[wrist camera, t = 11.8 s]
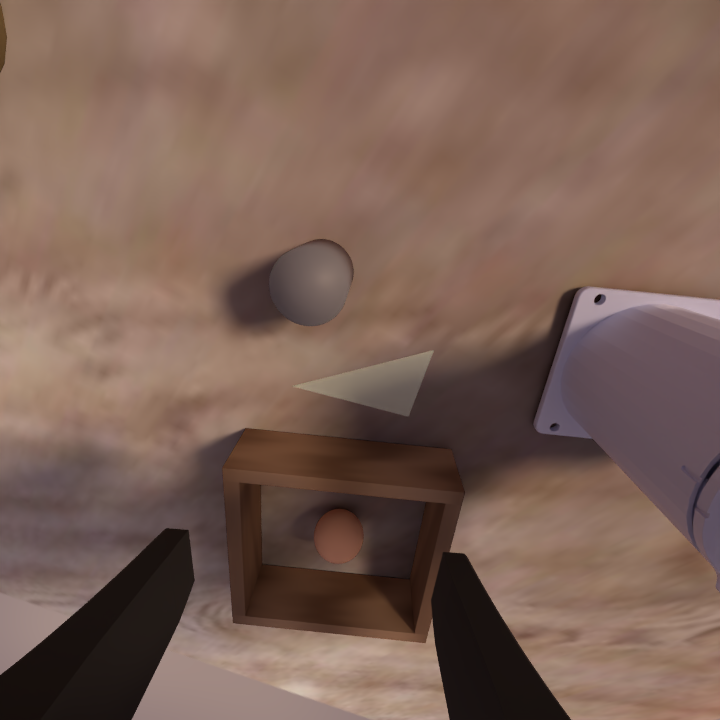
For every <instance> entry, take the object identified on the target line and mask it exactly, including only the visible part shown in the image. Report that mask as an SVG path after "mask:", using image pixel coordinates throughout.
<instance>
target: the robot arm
mask: <svg viewBox="0 0 720 720" xmlns="http://www.w3.org/2000/svg"><path fill="white" fill-rule="evenodd" d="M599 294H601V299H600V300H599V301H598V302H597V303H594V299H595V297H596V296H597V295H599ZM553 423H556V425H555V426H554V427H550V426H551V425H552V424H553ZM533 425H534V428H535V429H536V430H537V431H538V432H539V433H542V434H551V435H560V436H570V437H580V438H590V439H593V440H594V441H595V442H596V443H597V444H598V445H599V446H600V447H601V448H602V449H603V450H604V451H605V452H606V453H607V454H608V456H609V457H610V458H611V459H612V460H613V461H614V462H615V463H616V464H617V465H618V466H619V467H620V468H621V469H622V470H623V471H624V473H625V474H626V475H627V476H628V477H629V478H630V479H631V480H632V481H633V482H634V483H635V484H636V485H637V486H638V487H639V489H640V490H641V491H642V492H643V493H644V494H645V495H646V496H647V497H648V498H649V499H650V500H651V501H652V502H653V503H654V504H655V506H656V507H657V508H658V509H659V510H660V511H661V512H662V513H663V514H664V515H665V516H666V517H667V518H668V519H669V520H670V521H671V523H672V524H673V525H674V526H675V527H676V528H677V529H678V530H679V531H680V532H681V533H682V534H683V535H684V536H685V537H686V538H687V540H688V541H689V542H690V543H691V544H692V545H693V546H694V547H695V548H696V549H697V550H698V551H699V552H700V553H701V554H702V555H703V557H705V559H706V560H707V561H708V562H709V563H710V564H711V565H712V566H713V568H714V569H715V571H716V574H717V583H716V589H717V590H718V591H719V592H720V299H710V298H700V297H690V296H680V295H670V294H660V293H650V292H640V291H630V290H620V289H611V288H601V287H591V286H587V287H583V288H581V289H579V290H578V291H577V292H576V294H575V296H574V300H573V303H572V306H571V309H570V312H569V315H568V318H567V321H566V324H565V327H564V330H563V333H562V336H561V339H560V343H559V346H558V349H557V352H556V355H555V358H554V361H553V364H552V367H551V370H550V373H549V376H548V379H547V382H546V385H545V389H544V392H543V395H542V398H541V401H540V404H539V407H538V410H537V413H536V416H535V419H534V423H533ZM194 581H195V580H194V572H193V564H192V555H191V547H190V539H189V531H188V530H181V529H169V528H167V529H165V530H164V531H163V532H162V533H161V534H160V535H158V536H157V537H156V538H155V539H154V540H153V541H152V542H151V543H150V544H149V545H148V546H147V547H146V548H145V549H144V550H143V551H142V552H141V553H140V554H139V555H138V556H137V557H136V558H135V559H134V560H133V561H131V562H130V563H129V564H128V565H127V566H126V567H125V568H124V569H123V570H122V571H121V572H120V573H119V574H118V575H117V576H116V577H115V578H113V579H112V580H111V581H110V582H109V583H108V584H107V585H106V586H105V587H104V588H103V589H101V590H100V591H99V592H98V593H97V594H96V595H95V596H94V597H93V598H92V599H90V600H89V601H88V602H87V603H86V604H85V605H84V606H83V607H82V608H80V609H79V610H78V611H77V612H76V613H75V614H74V615H72V616H71V617H70V618H69V619H68V620H67V621H65V622H64V623H63V624H62V625H61V626H60V627H59V628H57V629H56V630H55V631H54V632H53V633H52V634H50V635H49V636H48V637H47V638H46V639H44V640H43V641H42V642H41V643H40V644H38V645H37V646H36V647H35V648H34V649H32V650H31V651H30V652H29V653H27V654H26V655H25V656H24V657H23V658H21V659H20V660H19V661H18V662H16V663H15V664H14V665H13V666H11V667H10V668H9V669H7V670H6V671H5V672H4V673H2V674H1V675H0V720H131V719H132V718H133V716H134V714H135V712H136V710H137V707H138V705H139V703H140V701H141V699H142V697H143V695H144V693H145V691H146V689H147V687H148V685H149V683H150V681H151V679H152V677H153V675H154V673H155V671H156V669H157V667H158V665H159V663H160V660H161V659H162V656H163V654H164V652H165V650H166V648H167V646H168V644H169V642H170V640H171V638H172V636H173V634H174V632H175V630H176V627H177V625H178V623H179V621H180V618H181V616H182V613H183V610H184V608H185V605H186V603H187V600H188V597H189V594H190V592H191V589H192V586H193V583H194ZM431 607H432V618H433V628H434V637H435V645H436V651H437V656H438V661H439V667H440V672H441V677H442V682H443V687H444V693H445V698H446V703H447V708H448V713H449V718H450V720H571V719H570V717H569V716H568V715H567V713H566V712H565V711H564V709H563V708H562V707H561V705H560V704H559V702H558V701H557V700H556V698H555V697H554V696H553V694H552V693H551V691H550V690H549V688H548V687H547V686H546V684H545V683H544V681H543V680H542V678H541V677H540V675H539V674H538V673H537V671H536V670H535V668H534V667H533V665H532V664H531V662H530V661H529V659H528V658H527V656H526V655H525V653H524V652H523V650H522V649H521V647H520V646H519V644H518V642H517V641H516V639H515V638H514V636H513V634H512V633H511V631H510V630H509V628H508V627H507V625H506V623H505V622H504V620H503V619H502V617H501V615H500V614H499V612H498V610H497V609H496V607H495V605H494V604H493V602H492V600H491V598H490V597H489V595H488V593H487V592H486V590H485V588H484V586H483V585H482V583H481V581H480V579H479V578H478V576H477V574H476V572H475V570H474V569H473V567H472V565H471V563H470V561H469V559H468V557H467V556H466V555H465V554H462V553H450V552H443V554H442V558H441V562H440V566H439V570H438V574H437V578H436V582H435V586H434V590H433V594H432V598H431Z"/></svg>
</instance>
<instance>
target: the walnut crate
mask: <svg viewBox="0 0 720 720" xmlns="http://www.w3.org/2000/svg"><path fill="white" fill-rule="evenodd" d="M222 471H223V486H224V500H225V515H226V530H227V544H228V559H229V573H230V588H231V602H232V617H233V623H237V624H246V625H256V626H265V627H275V628H285V629H294V630H304V631H314V632H323V633H333V634H343V635H352V636H362V637H372V638H381V639H391V640H401V641H410V642H420V643H426V639H427V635H428V631H429V628H430V624H431V620H432V607H431V598H432V594H433V590H434V586H435V582H436V578H437V574H438V570H439V566H440V562H441V558H442V554H443V552H449V551H450V548H451V544H452V540H453V536H454V532H455V529H456V525H457V521H458V517H459V513H460V510H461V506H462V502H463V498H464V494H465V492H464V488H463V485H462V482H461V479H460V476H459V472H458V469H457V466H456V463H455V459H454V456H453V453H452V450H451V449H444V448H434V447H424V446H414V445H404V444H395V443H385V442H375V441H365V440H355V439H346V438H336V437H326V436H316V435H306V434H297V433H287V432H277V431H267V430H257V429H248V428H246V429H245V431H244V432H243V434H242V436H241V437H240V439H239V441H238V442H237V444H236V446H235V447H234V449H233V451H232V453H231V454H230V456H229V458H228V459H227V461H226V463H225V464H224V466H223V468H222ZM261 485H269V486H278V487H288V488H298V489H308V490H317V491H327V492H337V493H347V494H356V495H366V496H376V497H386V498H396V499H405V500H415V501H425V502H426V505H425V510H424V514H423V519H422V524H421V528H420V533H419V538H418V543H417V547H416V552H415V557H414V561H413V566H412V571H411V576H410V580H409V579H399V578H389V577H379V576H370V575H360V574H350V573H341V572H331V571H321V570H312V569H302V568H292V567H282V566H273V565H263V564H262V537H261Z"/></svg>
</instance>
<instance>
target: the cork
mask: <svg viewBox="0 0 720 720" xmlns="http://www.w3.org/2000/svg"><path fill="white" fill-rule="evenodd" d="M6 39H7V36H6V30H5V25H4V19H3V13H2V7H1V4H0V71H1V69H2V67H3V65H4V60H5V49H6Z"/></svg>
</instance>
